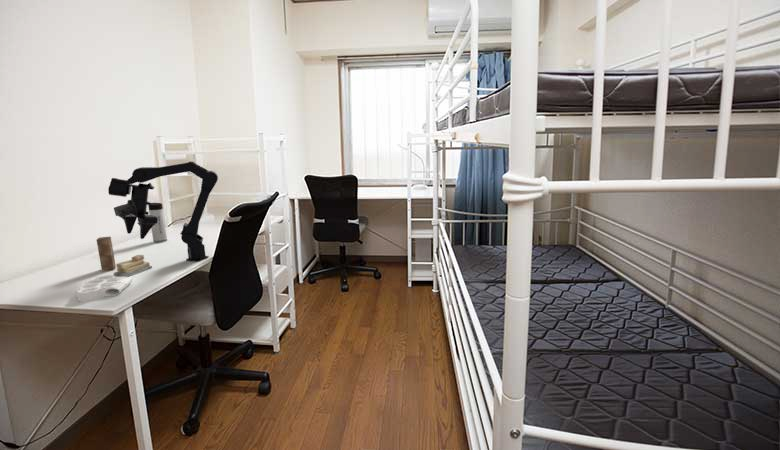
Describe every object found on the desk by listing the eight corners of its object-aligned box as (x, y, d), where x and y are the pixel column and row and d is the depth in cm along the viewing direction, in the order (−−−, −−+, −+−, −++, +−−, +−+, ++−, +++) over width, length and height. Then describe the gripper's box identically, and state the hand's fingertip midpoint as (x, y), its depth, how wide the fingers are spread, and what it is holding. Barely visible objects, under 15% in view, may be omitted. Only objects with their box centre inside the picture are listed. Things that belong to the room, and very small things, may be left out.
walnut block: (115, 267, 169) (110, 236, 166) (113, 270, 165) (108, 238, 163) (104, 268, 167) (99, 237, 165) (101, 271, 164) (96, 239, 161)
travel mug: (156, 240, 213) (150, 201, 209) (169, 239, 214) (164, 201, 210) (150, 243, 207) (144, 203, 203) (164, 242, 208) (158, 203, 204)
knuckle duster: (116, 299, 136) (65, 304, 132) (136, 281, 153) (91, 285, 150) (114, 289, 135) (63, 294, 132) (134, 272, 152) (90, 276, 149)
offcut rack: (151, 268, 167) (149, 254, 166) (127, 276, 157) (124, 262, 155) (139, 266, 169) (136, 253, 168) (113, 275, 159) (111, 260, 158)
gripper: (105, 193, 163) (101, 231, 165) (132, 202, 155) (128, 243, 157) (133, 194, 173) (130, 230, 175) (160, 203, 165) (156, 241, 167)
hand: (135, 236), depth 168 cm, fingers open, 9 cm apart
